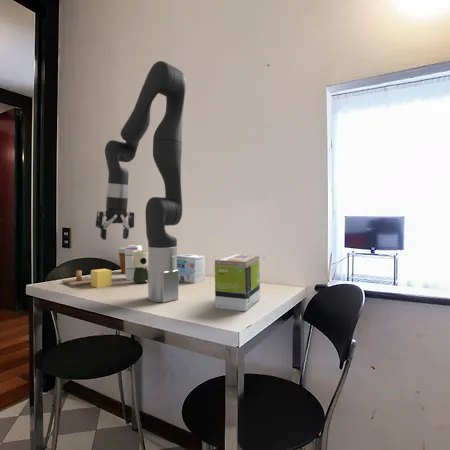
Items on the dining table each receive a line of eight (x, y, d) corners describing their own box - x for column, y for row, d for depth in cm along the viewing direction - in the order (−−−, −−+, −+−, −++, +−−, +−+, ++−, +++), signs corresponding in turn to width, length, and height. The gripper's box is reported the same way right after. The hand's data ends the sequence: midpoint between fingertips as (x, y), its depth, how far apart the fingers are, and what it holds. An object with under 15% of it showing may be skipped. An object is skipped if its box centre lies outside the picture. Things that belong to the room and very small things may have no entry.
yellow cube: (111, 285, 121) (111, 270, 121) (97, 287, 117) (97, 272, 117) (104, 283, 125) (104, 268, 125) (90, 285, 121) (90, 270, 120)
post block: (100, 283, 125) (100, 271, 124) (74, 287, 117) (74, 274, 117) (87, 279, 133) (87, 267, 133) (62, 282, 125) (62, 270, 125)
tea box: (232, 296, 106) (232, 253, 106) (260, 299, 102) (261, 254, 102) (213, 308, 92) (214, 258, 92) (245, 312, 88) (246, 260, 88)
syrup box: (138, 280, 132) (138, 246, 131) (124, 280, 132) (124, 246, 131) (142, 277, 137) (142, 245, 137) (129, 277, 137) (129, 244, 137)
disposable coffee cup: (114, 274, 145) (113, 248, 145) (123, 270, 155) (123, 246, 154) (133, 275, 144) (133, 249, 143) (141, 271, 153) (141, 247, 153)
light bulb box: (175, 280, 132) (175, 255, 132) (186, 278, 138) (186, 253, 138) (195, 283, 126) (195, 257, 126) (205, 280, 132) (205, 255, 132)
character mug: (137, 286, 120) (137, 252, 120) (124, 284, 124) (124, 251, 124) (157, 281, 130) (157, 250, 130) (144, 279, 134) (144, 249, 133)
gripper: (103, 195, 108) (100, 241, 110) (139, 198, 118) (136, 240, 120) (94, 194, 113) (91, 238, 115) (129, 196, 123) (126, 236, 125)
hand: (114, 239), depth 117 cm, fingers open, 8 cm apart
